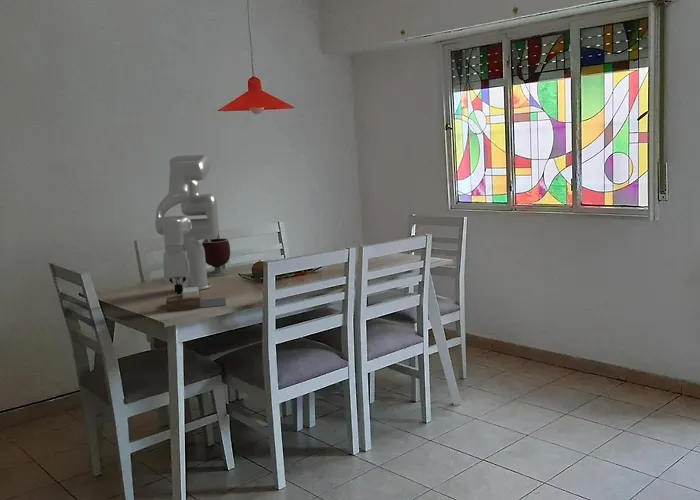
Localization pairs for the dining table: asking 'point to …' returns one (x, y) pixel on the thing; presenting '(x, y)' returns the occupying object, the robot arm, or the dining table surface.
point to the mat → (213, 302)
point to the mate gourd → (217, 255)
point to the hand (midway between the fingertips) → (179, 293)
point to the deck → (182, 302)
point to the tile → (190, 292)
